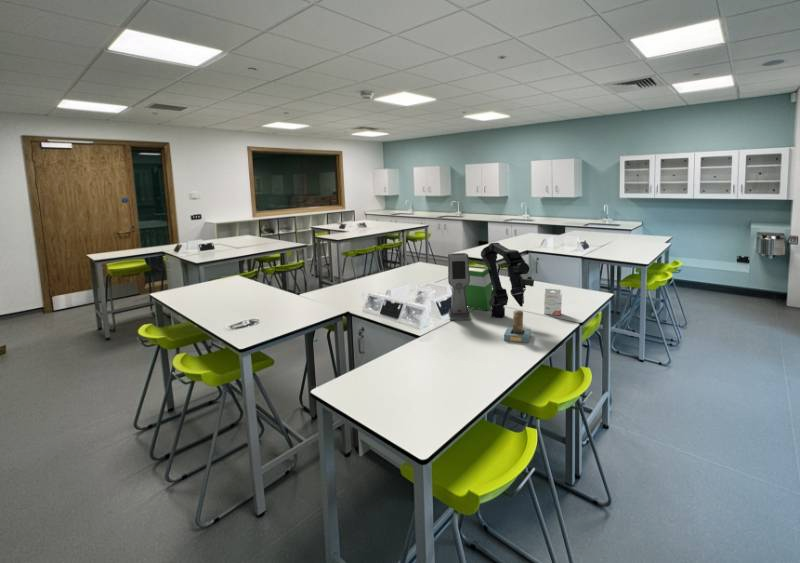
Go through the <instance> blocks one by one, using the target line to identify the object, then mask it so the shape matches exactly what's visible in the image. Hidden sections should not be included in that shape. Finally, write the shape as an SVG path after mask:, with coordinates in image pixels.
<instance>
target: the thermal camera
mask: <svg viewBox="0 0 800 563" xmlns="http://www.w3.org/2000/svg"><path fill="white" fill-rule="evenodd" d="M469 265H470V261H469V254H468V253H467V252H463V253H462V252H460V253H449V254H447V271H448V272H447V273H448V274H447V278H448V282H447V283H448V284H449V285H450V286H451V306H450V307H449V309H448V318H449V317H450V319H451V320H450V319H449V320H450V321H469V320H471V314H470V310H469V307H467V299H466V286H467V285H468V284H469V283H470V274H469Z"/></svg>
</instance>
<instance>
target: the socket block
mask: <svg viewBox="0 0 800 563" xmlns="http://www.w3.org/2000/svg"><path fill="white" fill-rule="evenodd" d="M531 335H532V329H531V328H523V330H522V335H521V334H513V327H509V326H507V327H506V330H505V332H504V334H503V341H505V342H511V343H521V342H522V343H523V344H529V342H530V338H531Z"/></svg>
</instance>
